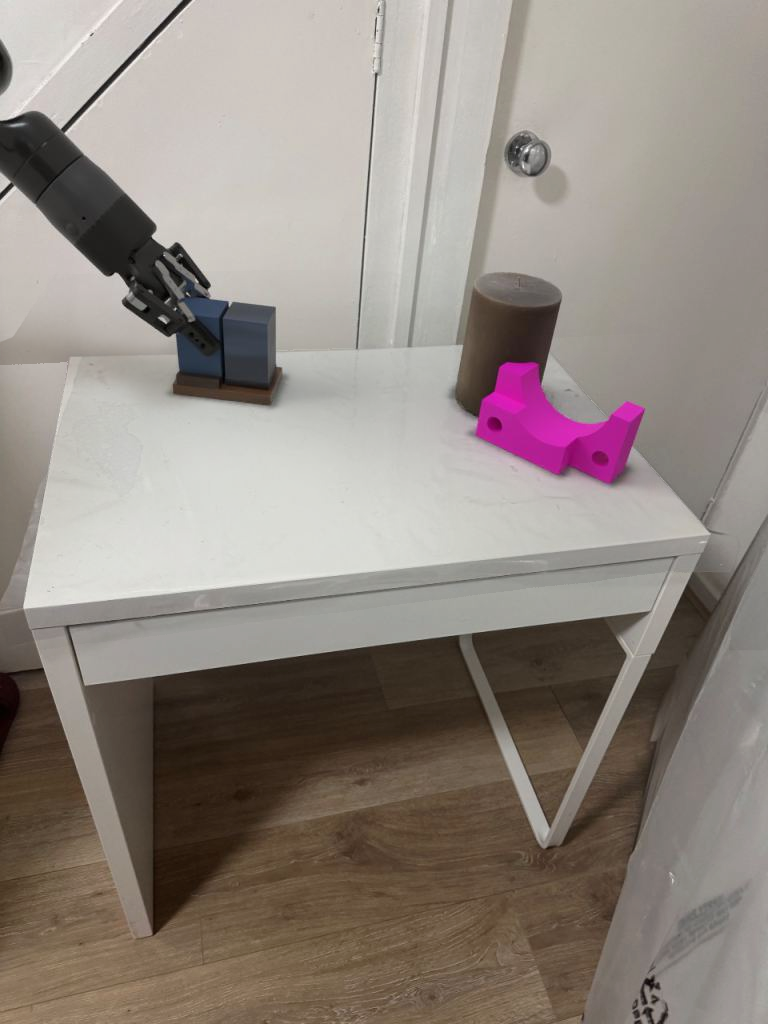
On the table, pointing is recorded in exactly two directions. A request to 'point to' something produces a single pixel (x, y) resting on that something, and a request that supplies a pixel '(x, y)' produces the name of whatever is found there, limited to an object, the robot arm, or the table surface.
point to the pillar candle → (505, 331)
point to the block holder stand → (241, 359)
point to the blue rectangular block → (212, 319)
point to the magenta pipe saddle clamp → (554, 427)
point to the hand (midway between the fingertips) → (221, 340)
